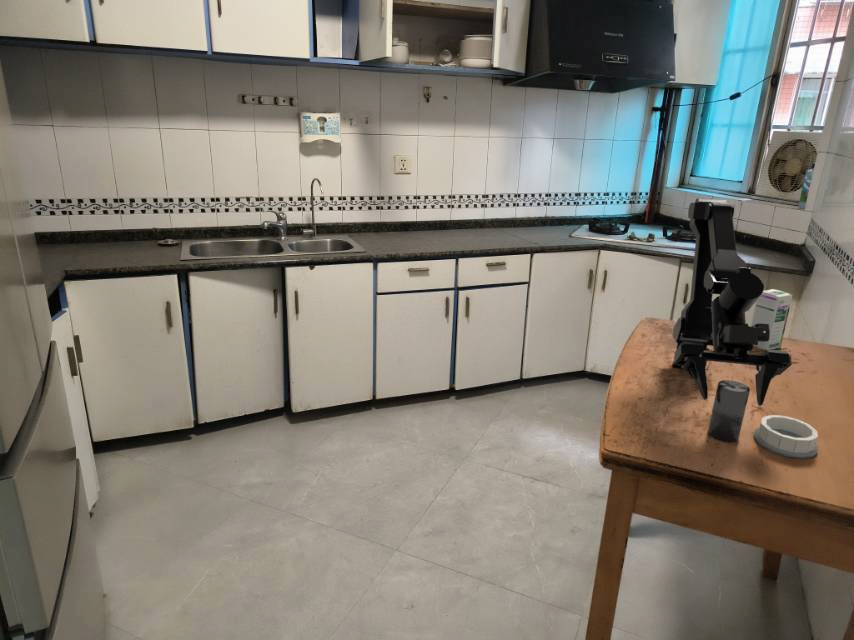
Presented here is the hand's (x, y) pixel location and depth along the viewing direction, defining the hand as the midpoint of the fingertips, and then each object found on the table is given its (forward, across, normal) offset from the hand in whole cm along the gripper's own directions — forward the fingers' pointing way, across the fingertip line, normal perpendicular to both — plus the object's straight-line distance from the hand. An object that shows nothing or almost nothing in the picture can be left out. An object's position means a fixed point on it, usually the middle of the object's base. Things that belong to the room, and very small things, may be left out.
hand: (732, 402), depth 106 cm
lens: (+4, 0, +6) cm, 8 cm away
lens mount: (+5, +10, +6) cm, 13 cm away
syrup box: (-32, +22, +43) cm, 58 cm away
